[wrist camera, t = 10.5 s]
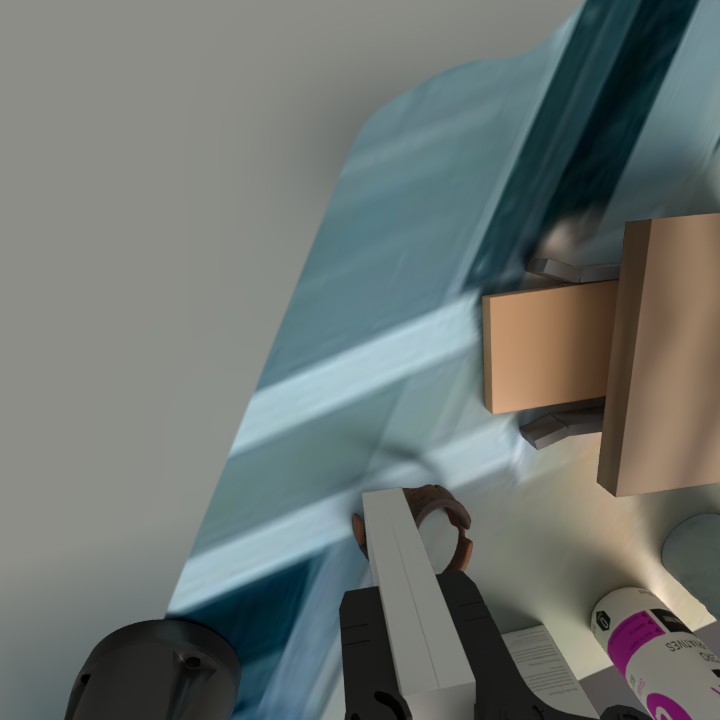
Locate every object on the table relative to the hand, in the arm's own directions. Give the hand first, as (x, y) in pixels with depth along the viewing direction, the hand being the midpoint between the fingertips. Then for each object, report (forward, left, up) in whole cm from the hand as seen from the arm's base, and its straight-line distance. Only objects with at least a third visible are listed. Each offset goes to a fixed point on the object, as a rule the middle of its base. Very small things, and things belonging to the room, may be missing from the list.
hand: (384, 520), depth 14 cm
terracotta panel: (+20, +1, -18) cm, 26 cm away
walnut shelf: (+24, 0, -17) cm, 29 cm away
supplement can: (+28, -32, -17) cm, 46 cm away
